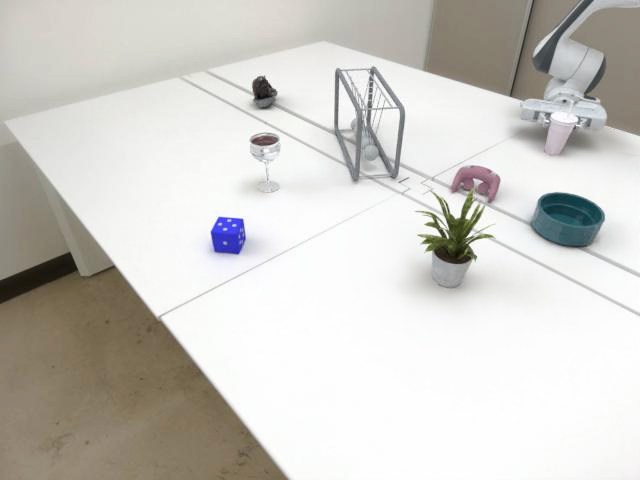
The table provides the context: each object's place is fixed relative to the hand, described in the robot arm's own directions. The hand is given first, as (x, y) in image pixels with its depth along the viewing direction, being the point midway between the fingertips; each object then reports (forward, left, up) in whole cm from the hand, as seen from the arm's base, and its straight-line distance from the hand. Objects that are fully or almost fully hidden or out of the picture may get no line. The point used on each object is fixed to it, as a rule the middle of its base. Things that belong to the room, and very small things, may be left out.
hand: (561, 126), depth 113 cm
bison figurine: (+81, -24, -8) cm, 85 cm away
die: (+73, +46, -8) cm, 87 cm away
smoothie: (0, -1, -8) cm, 8 cm away
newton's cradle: (+49, +5, -8) cm, 50 cm away
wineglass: (+70, +24, -8) cm, 74 cm away
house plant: (+32, +49, -8) cm, 59 cm away
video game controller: (+23, +21, -8) cm, 32 cm away
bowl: (+7, +33, -8) cm, 35 cm away
